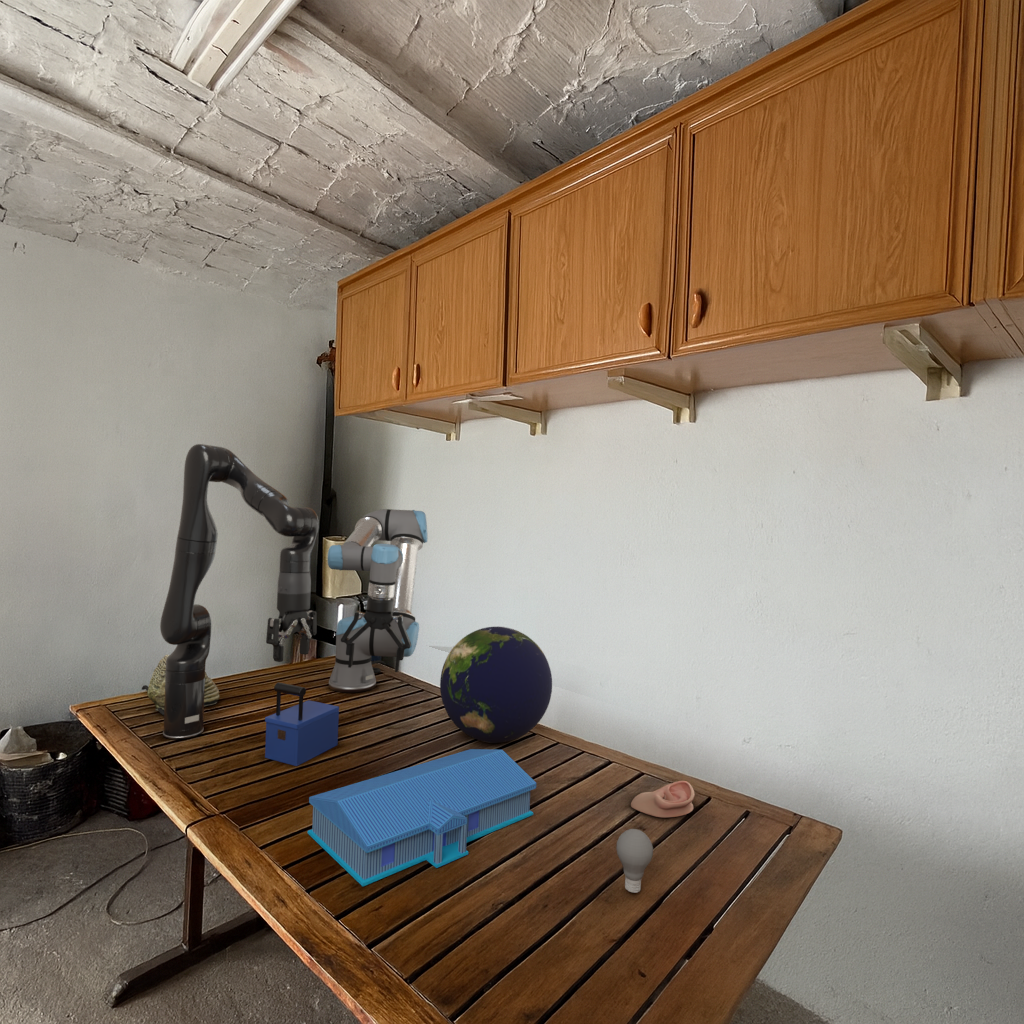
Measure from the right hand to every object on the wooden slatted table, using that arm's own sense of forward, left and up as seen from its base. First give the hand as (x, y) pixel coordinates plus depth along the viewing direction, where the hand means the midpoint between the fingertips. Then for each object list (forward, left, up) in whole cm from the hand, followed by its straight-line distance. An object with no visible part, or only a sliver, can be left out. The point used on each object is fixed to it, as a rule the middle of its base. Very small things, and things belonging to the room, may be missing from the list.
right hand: (373, 668), depth 186 cm
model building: (+63, +24, -13) cm, 69 cm away
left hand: (+34, -13, +11) cm, 38 cm away
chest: (+29, -11, -13) cm, 34 cm away
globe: (+17, +36, -13) cm, 42 cm away
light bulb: (+82, +59, -13) cm, 102 cm away
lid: (+29, -11, -4) cm, 32 cm away
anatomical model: (+52, +72, -13) cm, 90 cm away
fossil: (0, -55, -13) cm, 56 cm away
